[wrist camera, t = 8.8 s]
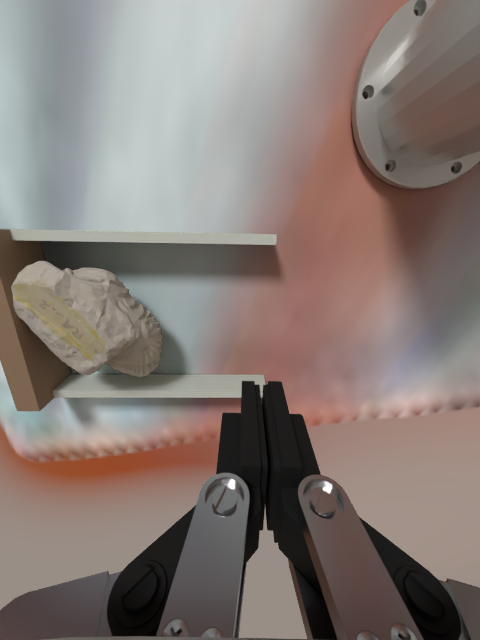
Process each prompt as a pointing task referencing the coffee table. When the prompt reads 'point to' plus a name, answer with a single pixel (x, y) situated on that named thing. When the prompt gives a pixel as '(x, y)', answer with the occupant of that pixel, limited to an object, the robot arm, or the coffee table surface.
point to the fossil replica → (87, 319)
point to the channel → (54, 375)
